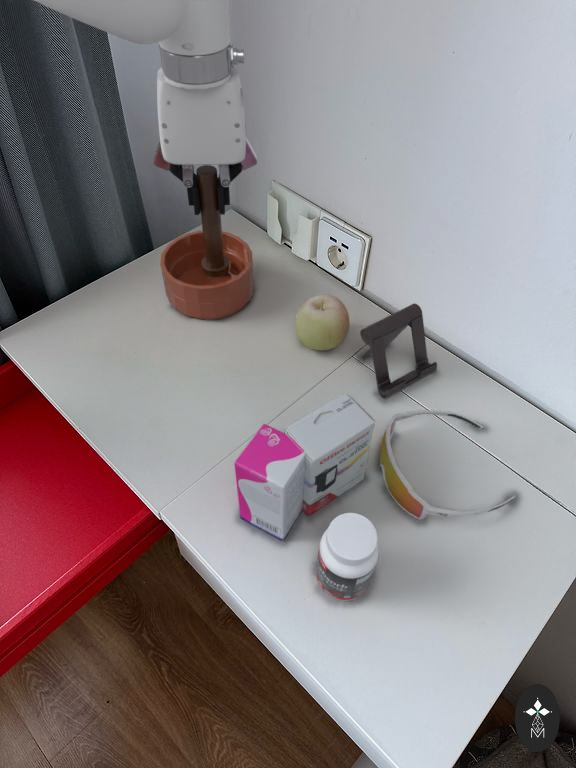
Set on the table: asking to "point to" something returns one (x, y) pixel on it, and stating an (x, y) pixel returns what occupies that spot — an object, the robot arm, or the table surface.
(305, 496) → the ink box
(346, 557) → the pill bottle
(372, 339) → the tablet stand
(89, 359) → the table surface
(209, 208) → the cylinder
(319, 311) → the fruit
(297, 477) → the supplement box
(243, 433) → the table surface
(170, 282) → the bowl
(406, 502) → the sunglasses
